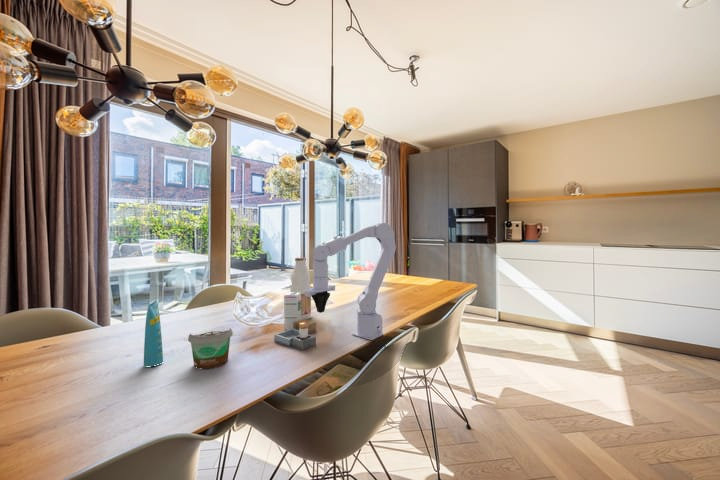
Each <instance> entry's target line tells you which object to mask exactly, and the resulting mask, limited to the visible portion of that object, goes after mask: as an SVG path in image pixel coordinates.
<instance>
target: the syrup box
mask: <svg viewBox="0 0 720 480" xmlns="http://www.w3.org/2000/svg"><path fill="white" fill-rule="evenodd" d="M283 316H284V317H283V319H284V322H283V323H284V331H287V330H290V329H293V322H296V321H299V320H301V293H300V292H290V291H289V292H287V293H285V294H284V295H283Z"/></svg>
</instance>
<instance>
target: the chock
mask: <svg viewBox="0 0 720 480" xmlns="http://www.w3.org/2000/svg"><path fill="white" fill-rule="evenodd" d="M300 322H308V334H309V335H311V334H312V333H315V332H317V321H314V320H310V319H302V320H299V321H296V322H293V329H295V330H299V323H300Z"/></svg>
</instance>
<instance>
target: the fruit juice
mask: <svg viewBox="0 0 720 480" xmlns="http://www.w3.org/2000/svg"><path fill="white" fill-rule="evenodd" d="M306 260H307V259H306V257H295V258H294V262H295V265H294V267H293V270H292V272H291V274H290V281H291V284H290V285H291V286H290V289H289V290H290V291H289V292H300V293H301V320H302V319H307V320H310V319H311V316H312V296H309V297H308V296H305V291H306V290H309V289H311V288H312V287H311V283H310V282H311V277H312V276H311V273H310V272H309V270H308V267H307V264H306Z"/></svg>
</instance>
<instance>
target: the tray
mask: <svg viewBox="0 0 720 480" xmlns="http://www.w3.org/2000/svg"><path fill="white" fill-rule="evenodd" d="M298 335H299V330H295V329H290V330H283V331H281V332H278V333H274V335H273V337H274V338H273V339H274V340H273V341H274V342H275V343H277V344H281V345H283V346H287V347H292V346H291V338H292V337H295V336H298Z"/></svg>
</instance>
